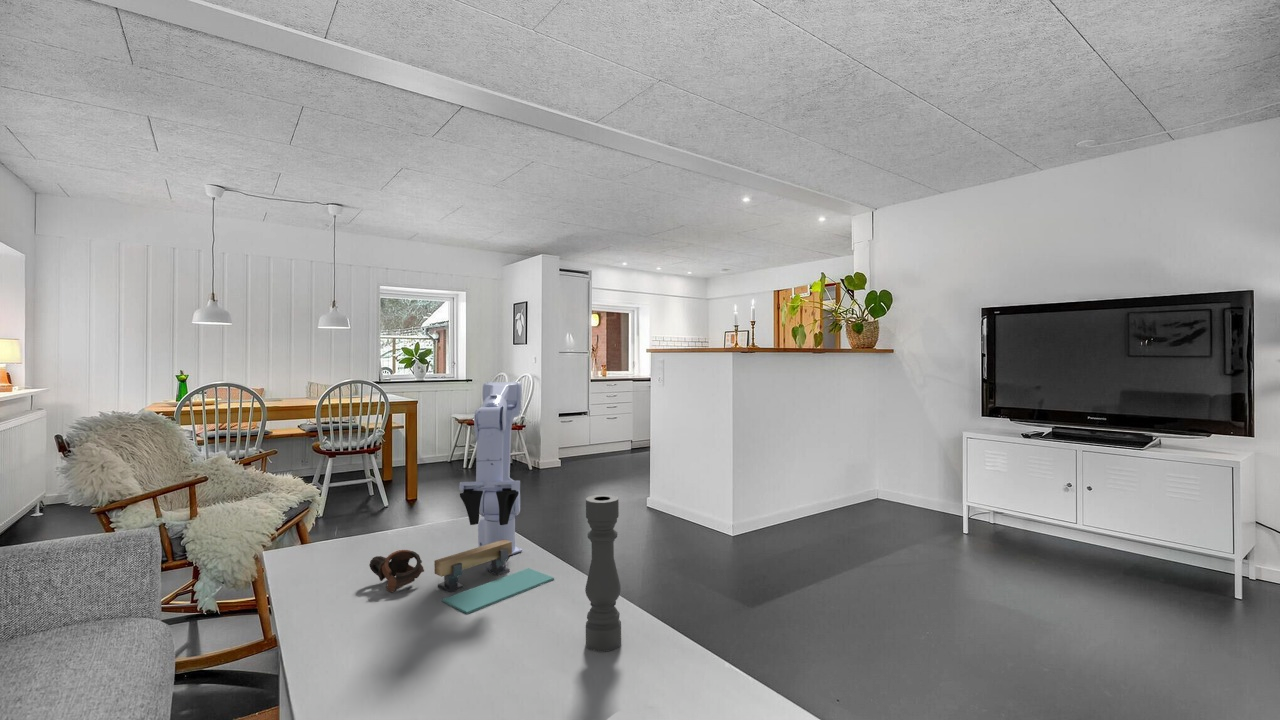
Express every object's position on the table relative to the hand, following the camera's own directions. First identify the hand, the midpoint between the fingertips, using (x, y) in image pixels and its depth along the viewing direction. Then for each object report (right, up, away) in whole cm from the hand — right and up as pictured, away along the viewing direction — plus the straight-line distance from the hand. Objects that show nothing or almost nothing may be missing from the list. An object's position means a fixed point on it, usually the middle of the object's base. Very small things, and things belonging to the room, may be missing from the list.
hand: (488, 524), depth 124 cm
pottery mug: (-21, -14, +2) cm, 25 cm away
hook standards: (-4, -13, +4) cm, 14 cm away
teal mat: (+3, -13, -2) cm, 14 cm away
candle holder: (+27, -13, -25) cm, 39 cm away
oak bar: (-4, -10, +4) cm, 11 cm away
